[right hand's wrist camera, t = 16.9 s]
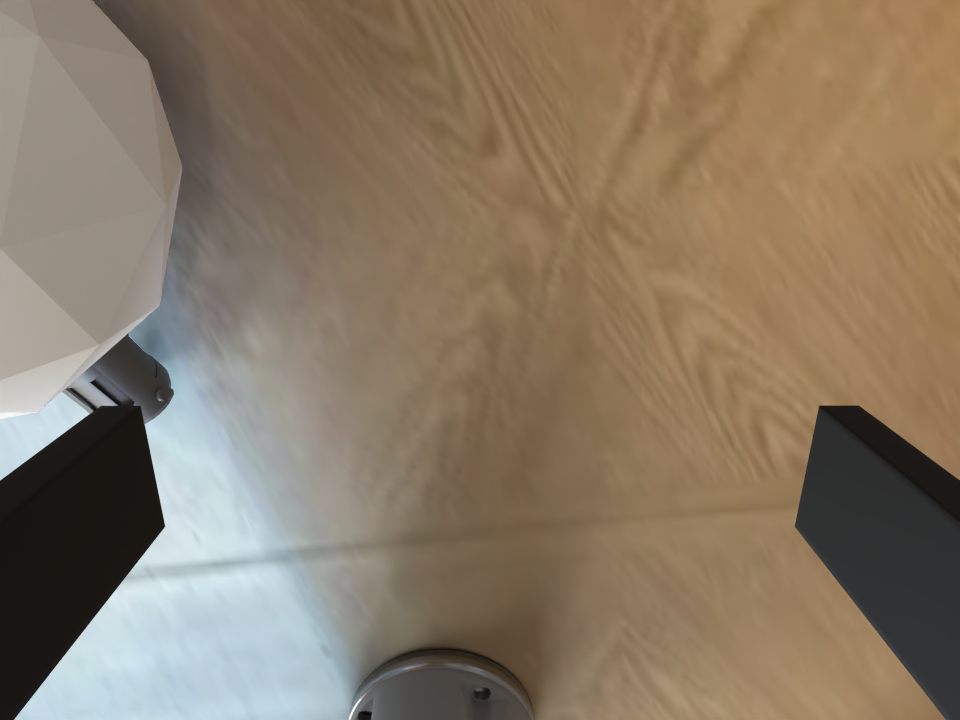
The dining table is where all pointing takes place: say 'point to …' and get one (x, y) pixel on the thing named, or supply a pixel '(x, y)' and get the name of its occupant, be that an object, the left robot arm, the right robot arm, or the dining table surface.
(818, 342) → the dining table surface
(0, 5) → the sphere
